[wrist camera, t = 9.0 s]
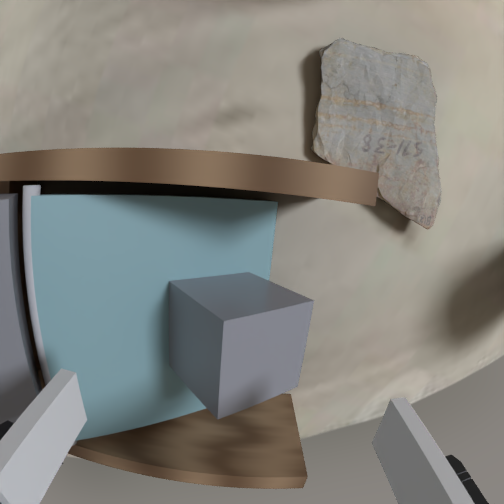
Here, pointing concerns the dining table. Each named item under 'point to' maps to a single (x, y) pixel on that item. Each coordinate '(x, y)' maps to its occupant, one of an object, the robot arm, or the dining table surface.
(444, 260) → the dining table surface
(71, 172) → the brown open boxy piece
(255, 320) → the block
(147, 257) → the trapdoor
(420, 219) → the stone
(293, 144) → the dining table surface
